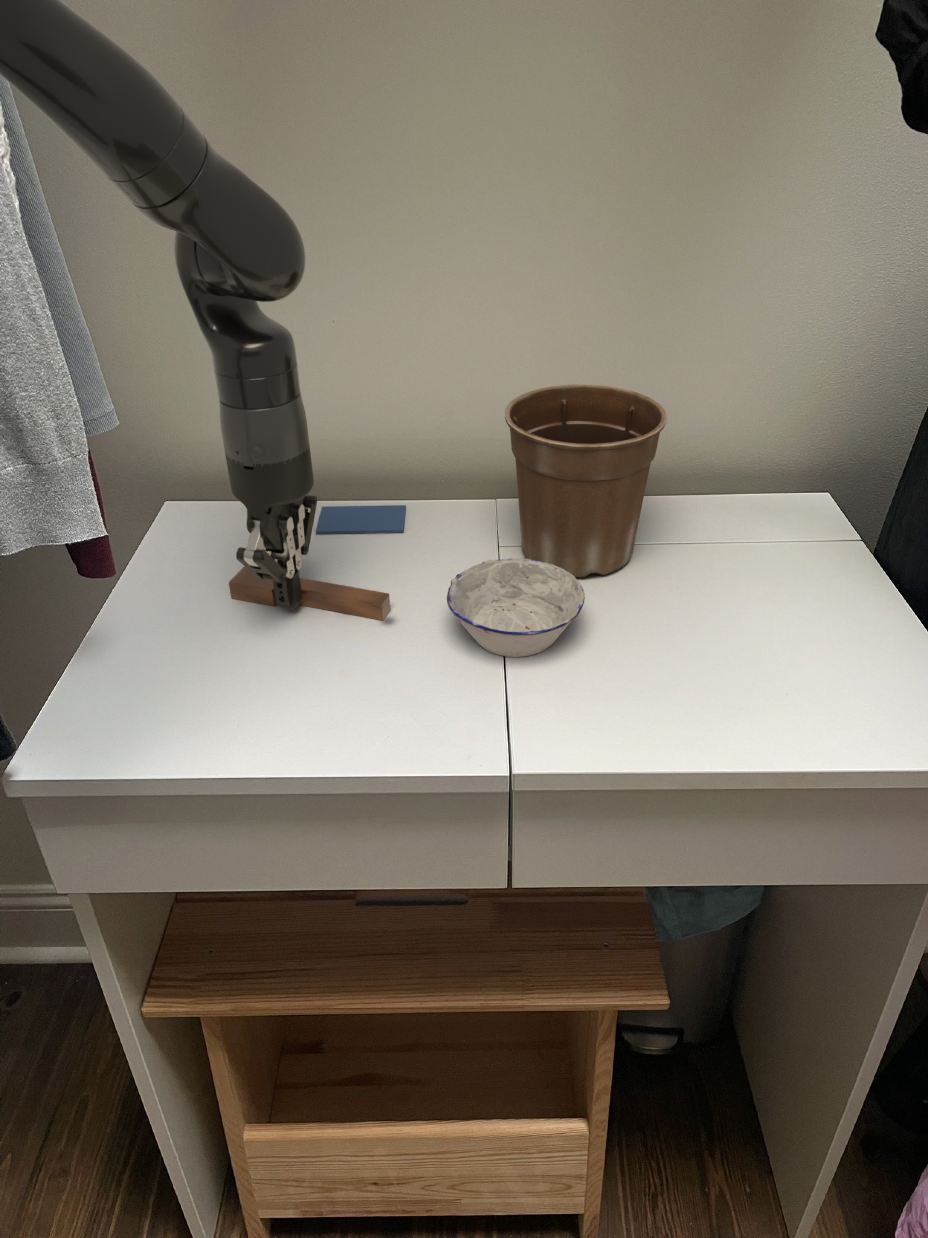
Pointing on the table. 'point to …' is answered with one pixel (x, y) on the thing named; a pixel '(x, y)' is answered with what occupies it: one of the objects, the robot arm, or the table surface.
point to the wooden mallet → (314, 595)
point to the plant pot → (582, 472)
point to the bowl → (515, 604)
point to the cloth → (361, 519)
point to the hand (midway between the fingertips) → (289, 603)
